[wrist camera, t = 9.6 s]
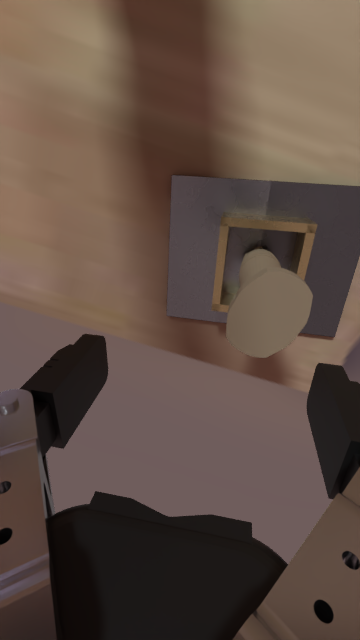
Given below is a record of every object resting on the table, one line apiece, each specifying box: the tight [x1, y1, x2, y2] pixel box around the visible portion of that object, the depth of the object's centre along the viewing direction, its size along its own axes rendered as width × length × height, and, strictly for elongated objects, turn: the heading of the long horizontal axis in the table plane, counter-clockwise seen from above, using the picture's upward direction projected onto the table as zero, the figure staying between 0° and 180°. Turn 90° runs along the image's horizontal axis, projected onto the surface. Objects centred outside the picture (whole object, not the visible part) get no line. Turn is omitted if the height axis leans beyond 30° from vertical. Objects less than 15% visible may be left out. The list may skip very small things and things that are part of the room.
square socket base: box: [167, 175, 360, 337], centre depth 33 cm, size 16×20×5 cm
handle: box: [226, 247, 313, 358], centre depth 27 cm, size 5×6×15 cm
